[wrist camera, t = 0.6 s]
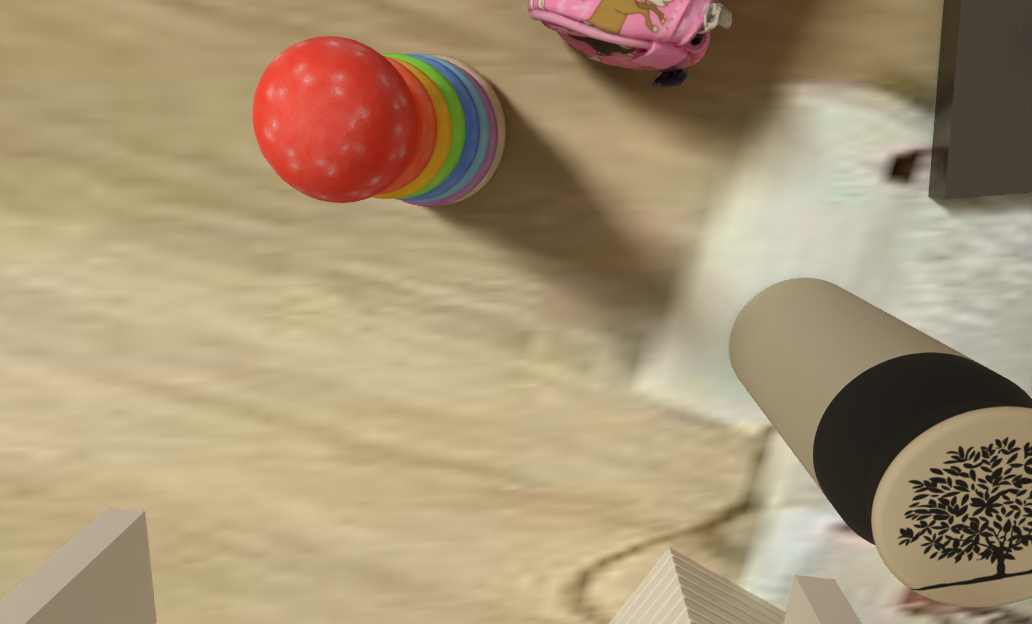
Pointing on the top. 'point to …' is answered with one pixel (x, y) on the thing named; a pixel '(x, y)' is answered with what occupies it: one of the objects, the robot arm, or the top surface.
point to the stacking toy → (377, 124)
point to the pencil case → (636, 31)
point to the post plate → (983, 100)
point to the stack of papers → (693, 598)
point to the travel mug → (898, 437)
